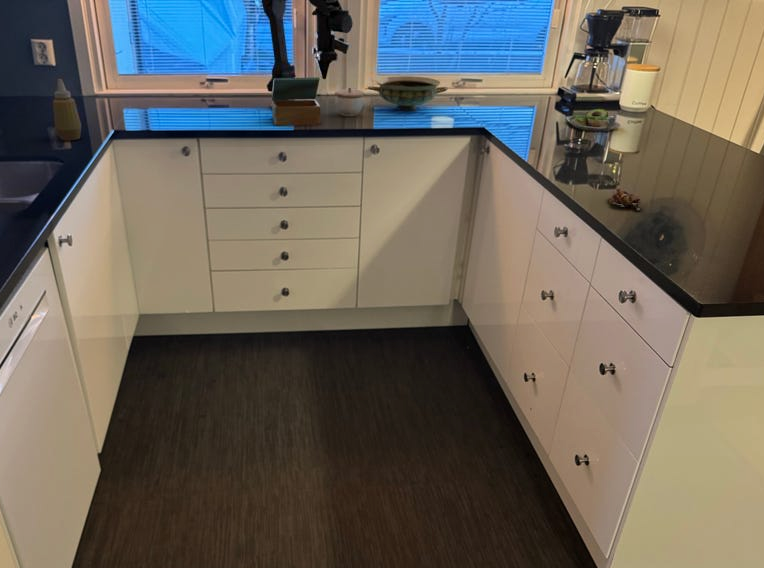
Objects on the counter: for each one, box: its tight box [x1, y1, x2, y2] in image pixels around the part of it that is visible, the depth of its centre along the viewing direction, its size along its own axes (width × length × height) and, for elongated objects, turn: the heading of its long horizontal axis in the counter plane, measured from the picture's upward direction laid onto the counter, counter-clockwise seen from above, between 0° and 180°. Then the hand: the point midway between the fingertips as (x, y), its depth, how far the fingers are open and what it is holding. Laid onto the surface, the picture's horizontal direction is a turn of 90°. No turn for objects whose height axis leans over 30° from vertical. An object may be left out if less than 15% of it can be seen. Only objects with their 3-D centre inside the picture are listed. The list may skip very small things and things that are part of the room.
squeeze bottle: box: [52, 78, 82, 142], centre depth 216 cm, size 8×8×18 cm
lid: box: [271, 76, 320, 101], centre depth 240 cm, size 13×16×1 cm
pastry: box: [608, 187, 641, 212], centre depth 171 cm, size 7×12×4 cm, turn 163°
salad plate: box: [565, 108, 621, 132], centre depth 240 cm, size 19×18×5 cm
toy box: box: [271, 98, 321, 127], centre depth 243 cm, size 12×16×6 cm
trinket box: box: [334, 87, 365, 117], centre depth 253 cm, size 11×11×9 cm
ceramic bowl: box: [367, 75, 449, 111], centre depth 262 cm, size 30×24×10 cm
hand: (324, 79), depth 244 cm, fingers closed
